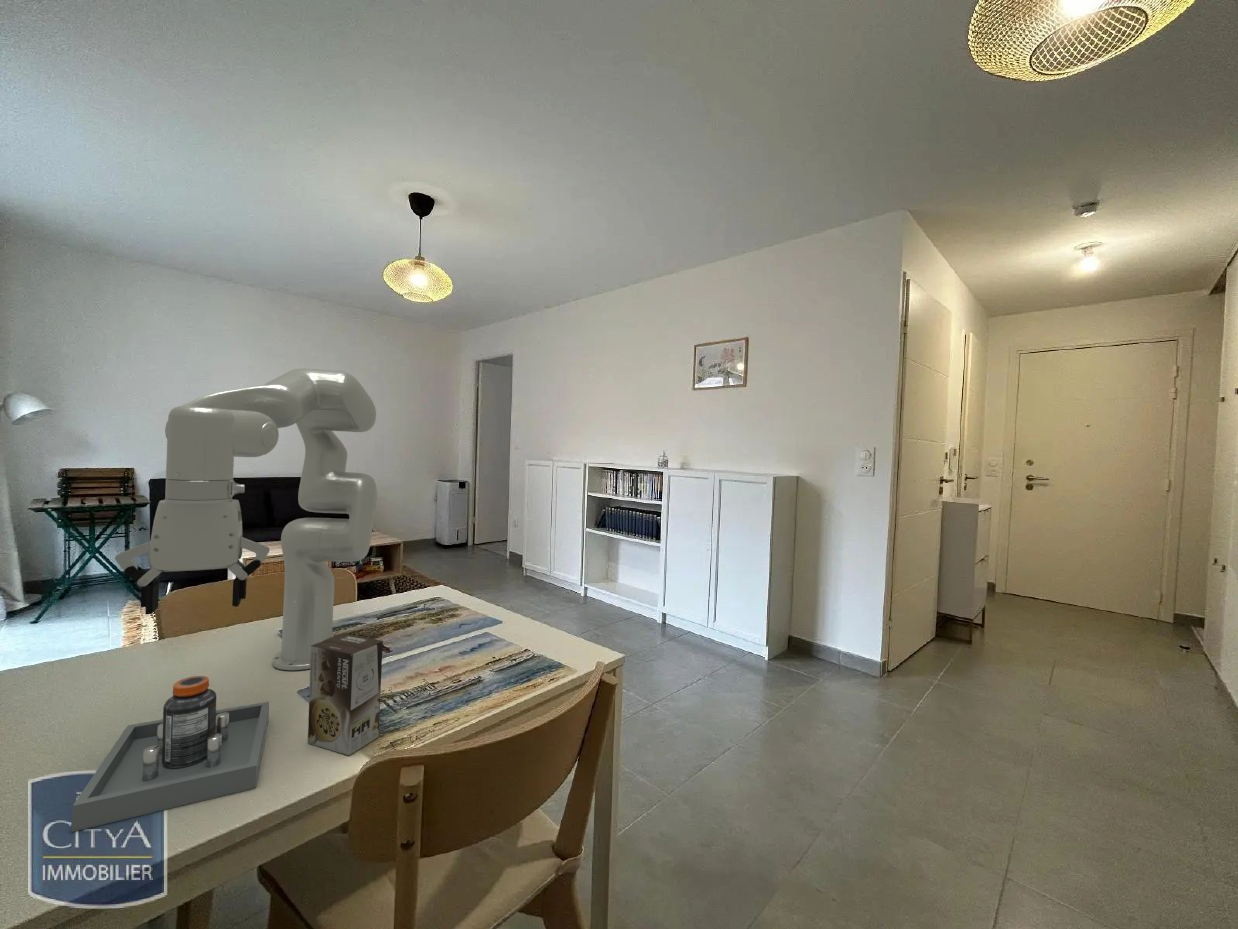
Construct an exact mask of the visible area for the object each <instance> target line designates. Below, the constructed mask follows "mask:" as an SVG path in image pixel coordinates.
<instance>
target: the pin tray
mask: <svg viewBox="0 0 1238 929" xmlns="http://www.w3.org/2000/svg"><path fill="white" fill-rule="evenodd" d="M269 717H270V701H265V702H264V701H263V702H258V703H251V704H246V705H240V706H235V707H234V706H233V707H229V708H223V709H216V727H215V734H214V735H211V736H209V737H208V738H207V758H205V759H203V760H201V761H199V762H197V763H195V764H192V765H188V766H184V767H178V768H170V767H166V766H164V765H163V764H162V743H163V742H162V738H163V718H162V719H157V720H151V721H147V722H140V723H133V724H128V725H127V726H126V727H125V729H124V730H123V732H122V733H121V735H120V736H119V737H118V739H117V740H116V742H115V744H114V745H113V746H112V748H111V749H110V751H109V752H108V754H107V755H106V756H105V757H104V759H103V761H102V763H101V764H100V765H99V767H97V770H96V771H95V773H94V774H93V775H92V776H91V779H89V781H88V783H87V785H86V786H85V787H84V788H83V790H82V791H81V793H80V795H79V796H78V797H77V799H76V800H75V801H74V803H73V805H72V808H71V810H72V811H71V814H72V815H71V833H74V832H77V831H82V830H87V829H90V828H95V827H98V826H103V825H108V824H111V823H115V822H120V821H124V820H128V819H132V818H136V817H141V816H145V815H149V814H153V813H157V812H161V811H166V810H170V809H174V808H179V807H183V806H186V805H191V804H195V803H199V802H204V801H207V800H212V799H217V798H220V797H225V796H228V795H234V794H236V793H242V792H245V791H251V790H254V789H256V787H257V782H258V776H259V771H260V767H261V766H260V765H261V762H262V755H263V752H264V747H265V746H264V745H265V741H266V735H267V730H268V726H269V719H270V718H269ZM182 805H183V806H182Z"/></svg>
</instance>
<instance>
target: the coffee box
mask: <svg viewBox="0 0 1238 929" xmlns="http://www.w3.org/2000/svg"><path fill="white" fill-rule="evenodd" d="M383 644H384V641H383V640H381V639H377V638H376V639H375V638H371V637H364V636H360V635H356V634H355V635H354V634H349V633H338V634H336V635H334V637H331V638H328V639H326V640H324V641H322V642H319V643H317V644H314V645H311V659H310V669H309V689H308V690H309V692H308V693H309V694H308V696H309V698H308V726H307V727H308V728H307V733H308V734H307V744H309V745H313V746H316V747H319V748H323V749H325V750H326V749H327V750H328V751H333V752H336V753H339V754H343V755H345V756H351V755H353V754H354V753H356V752H357V751H358V750H360V749H362V748H363V747H365V746H366V745H368V744H370V743H371V742H373V741H374V740H376V739H377V738H379V732H380V716H381V715H380V710H381V690H382V687H381V686H382V668H383V665H382V664H383V649H384V648H383V647H384V646H383Z"/></svg>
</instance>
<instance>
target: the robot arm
mask: <svg viewBox="0 0 1238 929" xmlns="http://www.w3.org/2000/svg"><path fill="white" fill-rule="evenodd" d="M167 416H168V417H167V421H166V424H165V428H164V433H165V438H166V467H165V491H164V492H165V494H164V495H165V497H164V499H161V500H159V502H158V504H157V507H156V511H155V515H154V518H153V525H152V529H151V536H150V540H149V541H147V542H144V543H142V544H139V545H137V546H134V547H132V548H130V549H127V550H125V551H122V552H120V553H118V554H117V555H115V558H114V559H115V561H116V562H117V564H118V565H119V566H120V568H121V569H122V570H123V572H124V574H125V576H127V577H129V578H130V579H132V581H134V582H136V583H137V585H138V587H140V608H145V613H144V614H145V615H152V614H154V613H155V611H156V610H158V608H159V602H160V601H159V598H160V597H159V596H160V595H159V594H160V582H159V581H158V580H157V577H158V576H159V575H160V574H161V573H163V572H165V573H167V572H168V573H169V572H170V573H171V572H186V571H205V570H206V571H207V570H208V571H209V570H218V569H220V570H221V569H227V570H228V571H230V572H231V574H233V575H234V576H235V578H234V580H233V581H232V601H231V602H232V604H231V605H232V607H233V608H234V607H235V608H236V607H237V608H238V607H239V606H240V604H241V602H242V600H246V598H247V585H248V584H247V582H248V577H249V576H250V575H251V574H253V573H254V572H256V570H258V569H259V568H260V567H261V565H262V564H263V562H264V561H265V559H266V558H267V556H268V554H270V553H269V552H270V551H271V549H270V547H269V546H268V545H267V546H266V545H264V544H261V543H259V542H256V541H254V540H252V539H248V538H245V537H243V518H242V509H241V505H240V501H239V499H233V497H234V496H235V495H238V494H244V493H245V490H246V489H245V487H246V486H245V484H240V483H237V482H235V480H234V462H235V461H234V460H235V459H234V458H235V457H238V458H260V457H262V456H264V455H267V454H269V453H270V452H272V451H273V450H274V448H276V446H277V444H278V441H279V436H280V435H279V429H282V428H287V427H290V426H293V425H295V424H296V427H297V429H298V431H299V434H300V435H301V438H302V440H303V443H304V449H305V450H304V459H303V460H304V461H303V466H302V471H301V476H300V483H299V488H298V492H297V494H298V495H297V496H298V497H297V500H298V505H299V507H300V508H301V509H303V510H305V511H307V512H312V513H323V514H346V515H348V517H349V518H331V517H303V518H301V517H300V518H296V519H294V520H292V521H290V522H288V523H287V524H286V525H285V526H284V528H283V529H282V531H281V537H280V546H281V551H282V558H283V565H284V585H283V587H284V588H283V589H284V590H283V605H282V606H283V609H282V610H283V611H282V632H281V651H279V652H277V653H276V654H275V655H273V657H272V663H271V664H272V666H273V667H274V668H276V669H278V670H284V671H302V670H310V659H311V645H314V644H317V643H319V642H322V641H324V640H326V639H328V638H331V637H334V636H335V634H334V632H333V623H334V604H335V603H334V600H335V576H334V574H333V572H332V570H331V569H330V567H329V565H328V564H327V563H326V562H343V563H345V562H349V563H350V562H360V561H362V560H363V559H365V557H367V555H368V553H369V552H370V551H369V550H370V548H371V547H370V546H371V543H372V536H373V529H374V521H375V515H376V506H377V496H378V495H377V494H378V489H377V484H376V481H375V479H374V478H373V477H372V476H371V475H369V474H367V473H363V472H352V471H351V472H350V471H349V472H348V471H346V468H347V460H348V451H347V448H346V447H345V445H344V443H343V442H342V441H341V439H340V438H339V437H338V436H337V435H336V434H335V433H334V432H349V433H364V432H365V433H366V432H368V431H369V430H371V429H372V428H373V427H374V425H375V424H376V420H377V410H376V405H375V403H374V401H373V400H372V398H371V396H370V395H369V394H368V391H366V389H365V388H364V387H363V385H362V384H361V383H360V381H359V380H357V378H355V377H354V376H353V375H352V374H350V373H349V372H346V371H341V370H331V369H317V368H306V367H305V368H295V369H292V370H288V371H287V372H285V373H283V374H281V375H279V376H278V377H276V378H274V379H272V380H270V381H268V382H266V383H264V384H260V385H255V386H253V385H252V386H247V387H243V388H238V389H234V390H233V389H232V390H226V391H221V392H215V393H212V394H207V395H204V396H201V397H198V398H195V399H193V400H191V401H189V402H187V403H185V404H183V405H178V406H174V407H173V408H172V409H171V410H170V411H169V413H168V415H167ZM243 549H244V550H246V551H250V552H252V553H254V554H255V557H254V558H253V559H252V560H251V561H250V562H249V563H248V564H247V565H245V564H244V563H243V562H242V561H241V558H242V556H243ZM146 553H148V564H149V568H150V569H149V570H148V571H146V570H145V569H144V568H143V567H140V566H139V565H138V564H137V563H136V561H135V558H137V557H138V556H142V555H143V554H146Z"/></svg>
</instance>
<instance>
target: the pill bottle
mask: <svg viewBox="0 0 1238 929" xmlns="http://www.w3.org/2000/svg"><path fill="white" fill-rule="evenodd" d="M209 687H210V679H209V677H208V676H205V675H194V676H189V677H186V678H182V679H180V680H178V681H176V682H175V683H174V684H173V685H172V696H170V697H169V698H168V699H167V700H166V701H165V703H164V704H163V711H162V719H163V738H162V742H163V743H162V764H163V765H164V766H166V767H170V768H178V767H184V766H188V765H192V764H195V763H197V762H199V761H201V760H203V759H205V758H207V738H208V737H209V736H211V735H214V734H215V727H216V710H217V693H216V691H214V690H213V689H211V688H209Z"/></svg>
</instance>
